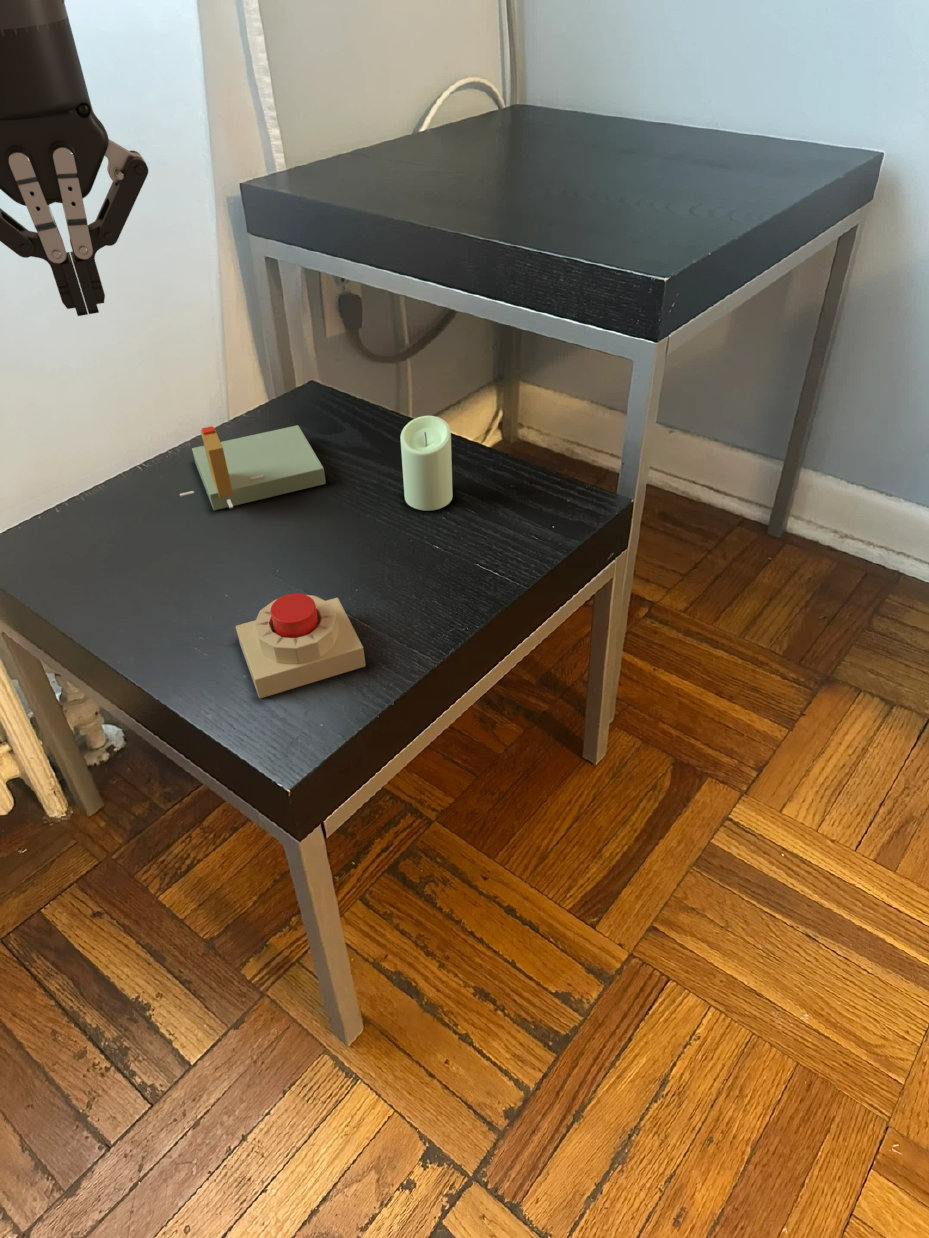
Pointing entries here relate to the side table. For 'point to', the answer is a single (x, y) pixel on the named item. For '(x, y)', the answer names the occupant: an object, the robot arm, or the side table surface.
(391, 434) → the side table surface
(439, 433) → the candle
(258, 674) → the button box
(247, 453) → the plate
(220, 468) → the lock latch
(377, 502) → the side table surface
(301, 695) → the side table surface
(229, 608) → the side table surface
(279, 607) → the button
